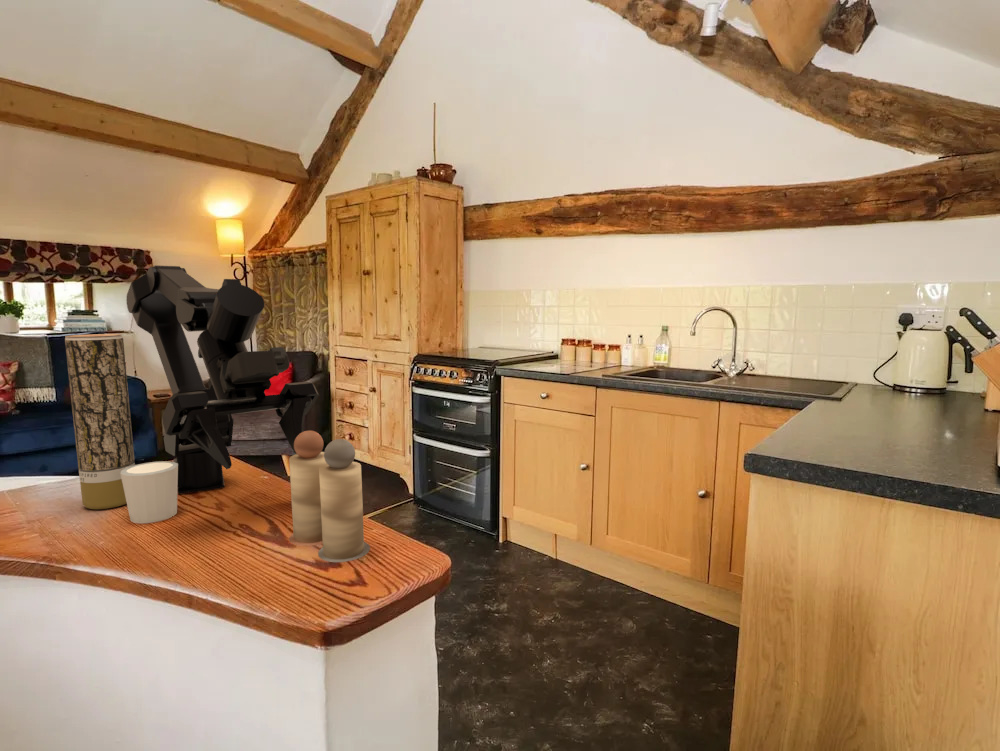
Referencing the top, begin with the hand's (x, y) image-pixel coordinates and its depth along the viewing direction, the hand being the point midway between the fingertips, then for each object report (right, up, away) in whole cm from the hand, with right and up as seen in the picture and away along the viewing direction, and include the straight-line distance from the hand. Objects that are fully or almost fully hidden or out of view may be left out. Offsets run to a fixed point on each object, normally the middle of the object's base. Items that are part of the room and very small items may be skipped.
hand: (266, 460), depth 72 cm
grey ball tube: (+12, -9, -7) cm, 17 cm away
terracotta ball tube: (+7, -9, -3) cm, 12 cm away
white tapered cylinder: (-18, -9, +7) cm, 22 cm away
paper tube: (-28, -8, +12) cm, 31 cm away
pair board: (+9, -10, -5) cm, 14 cm away
